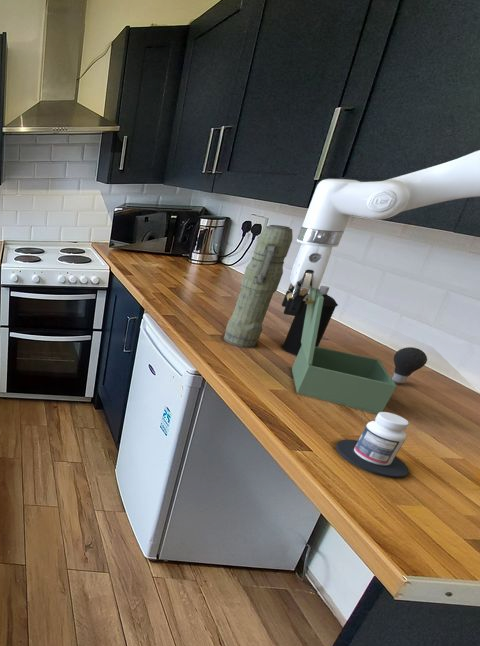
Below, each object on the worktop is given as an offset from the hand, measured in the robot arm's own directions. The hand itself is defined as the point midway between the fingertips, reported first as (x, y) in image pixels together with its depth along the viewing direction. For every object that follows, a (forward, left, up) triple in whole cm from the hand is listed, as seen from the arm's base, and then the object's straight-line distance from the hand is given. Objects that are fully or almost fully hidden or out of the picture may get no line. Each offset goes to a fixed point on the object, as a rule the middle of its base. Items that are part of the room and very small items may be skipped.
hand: (290, 310), depth 98 cm
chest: (-14, 0, -18) cm, 22 cm away
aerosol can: (-9, -23, -18) cm, 30 cm away
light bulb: (-29, -15, -18) cm, 37 cm away
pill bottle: (-16, +29, -17) cm, 37 cm away
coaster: (-16, +29, -18) cm, 37 cm away
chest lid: (-5, 0, -2) cm, 5 cm away
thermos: (+6, -20, -18) cm, 28 cm away
